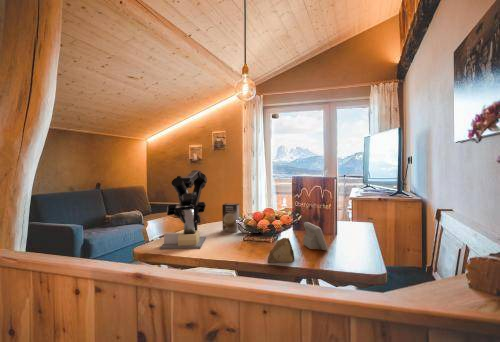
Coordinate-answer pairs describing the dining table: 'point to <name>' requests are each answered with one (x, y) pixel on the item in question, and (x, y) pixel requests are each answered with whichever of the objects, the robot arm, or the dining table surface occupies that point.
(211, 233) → the dining table surface
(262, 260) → the dining table surface
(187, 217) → the hinge pin
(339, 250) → the dining table surface
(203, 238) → the grey plate with frame
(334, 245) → the dining table surface
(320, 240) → the grey angular slab
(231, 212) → the coffee box
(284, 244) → the rock
